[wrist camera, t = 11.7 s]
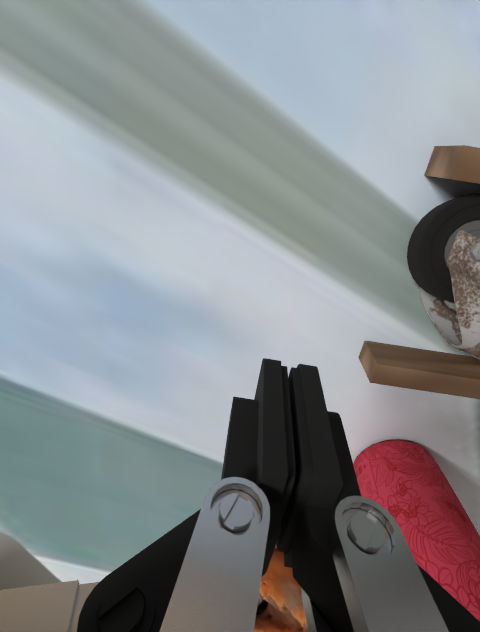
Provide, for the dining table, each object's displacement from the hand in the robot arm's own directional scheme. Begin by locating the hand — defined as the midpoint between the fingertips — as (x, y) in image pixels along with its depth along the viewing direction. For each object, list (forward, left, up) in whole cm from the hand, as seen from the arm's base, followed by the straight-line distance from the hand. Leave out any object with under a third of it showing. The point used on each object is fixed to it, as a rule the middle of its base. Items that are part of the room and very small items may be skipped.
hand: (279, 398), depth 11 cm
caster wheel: (0, +16, -21) cm, 26 cm away
